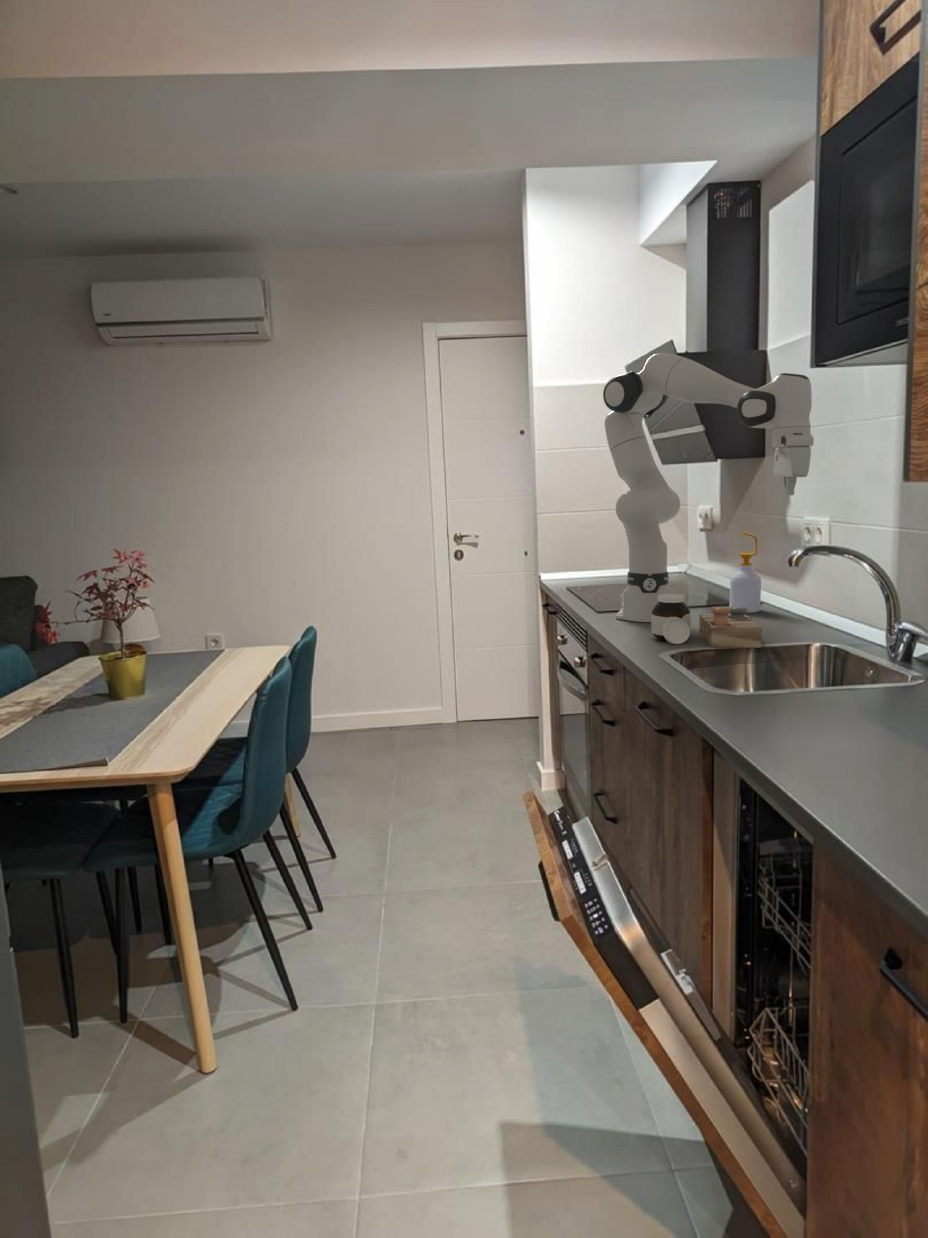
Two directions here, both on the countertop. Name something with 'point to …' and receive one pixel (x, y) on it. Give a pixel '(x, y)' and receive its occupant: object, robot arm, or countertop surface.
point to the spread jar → (671, 619)
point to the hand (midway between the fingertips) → (788, 495)
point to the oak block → (730, 632)
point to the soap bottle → (746, 584)
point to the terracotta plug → (720, 615)
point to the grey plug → (738, 612)
